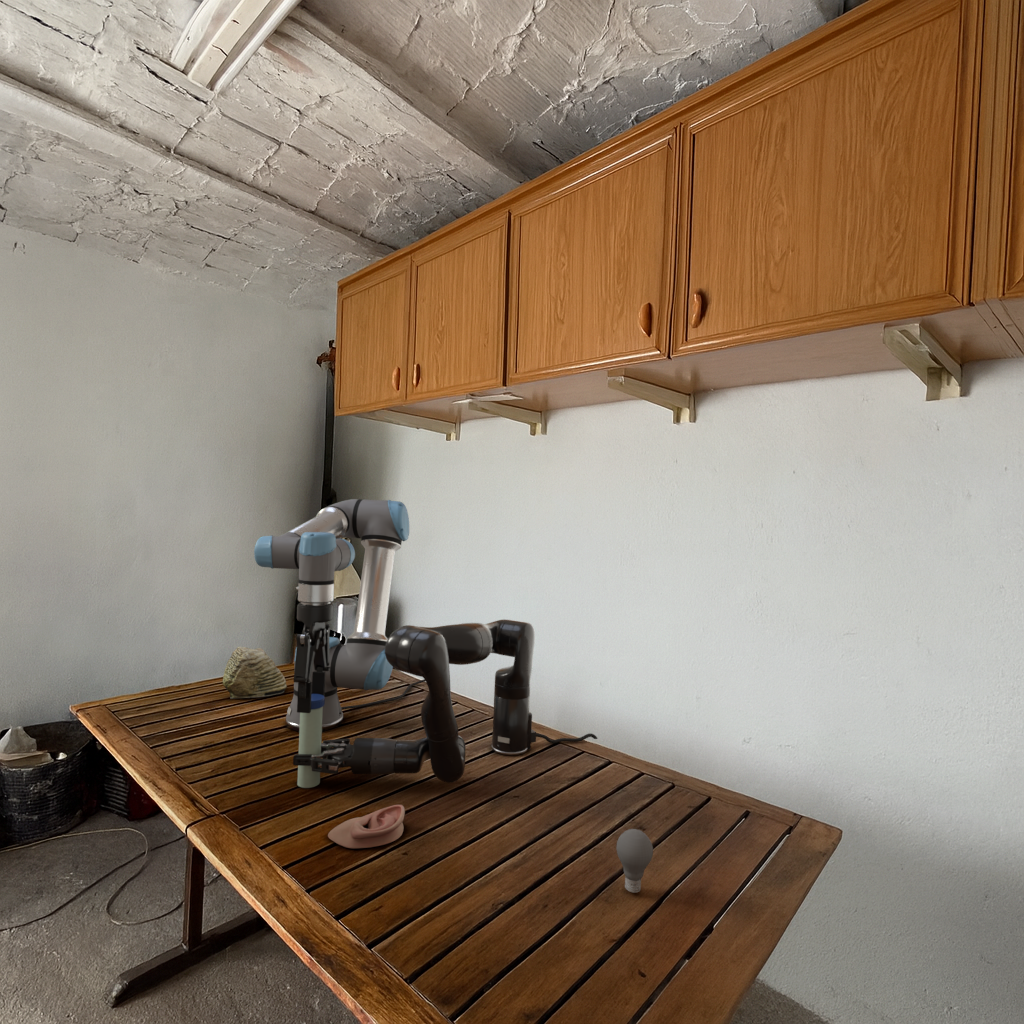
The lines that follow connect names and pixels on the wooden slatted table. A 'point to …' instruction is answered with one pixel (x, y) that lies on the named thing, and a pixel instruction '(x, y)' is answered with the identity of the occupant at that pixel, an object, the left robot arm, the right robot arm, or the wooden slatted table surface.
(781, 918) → the wooden slatted table surface
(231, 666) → the fossil
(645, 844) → the light bulb
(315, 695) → the lid
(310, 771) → the jar
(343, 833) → the anatomical model
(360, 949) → the wooden slatted table surface
